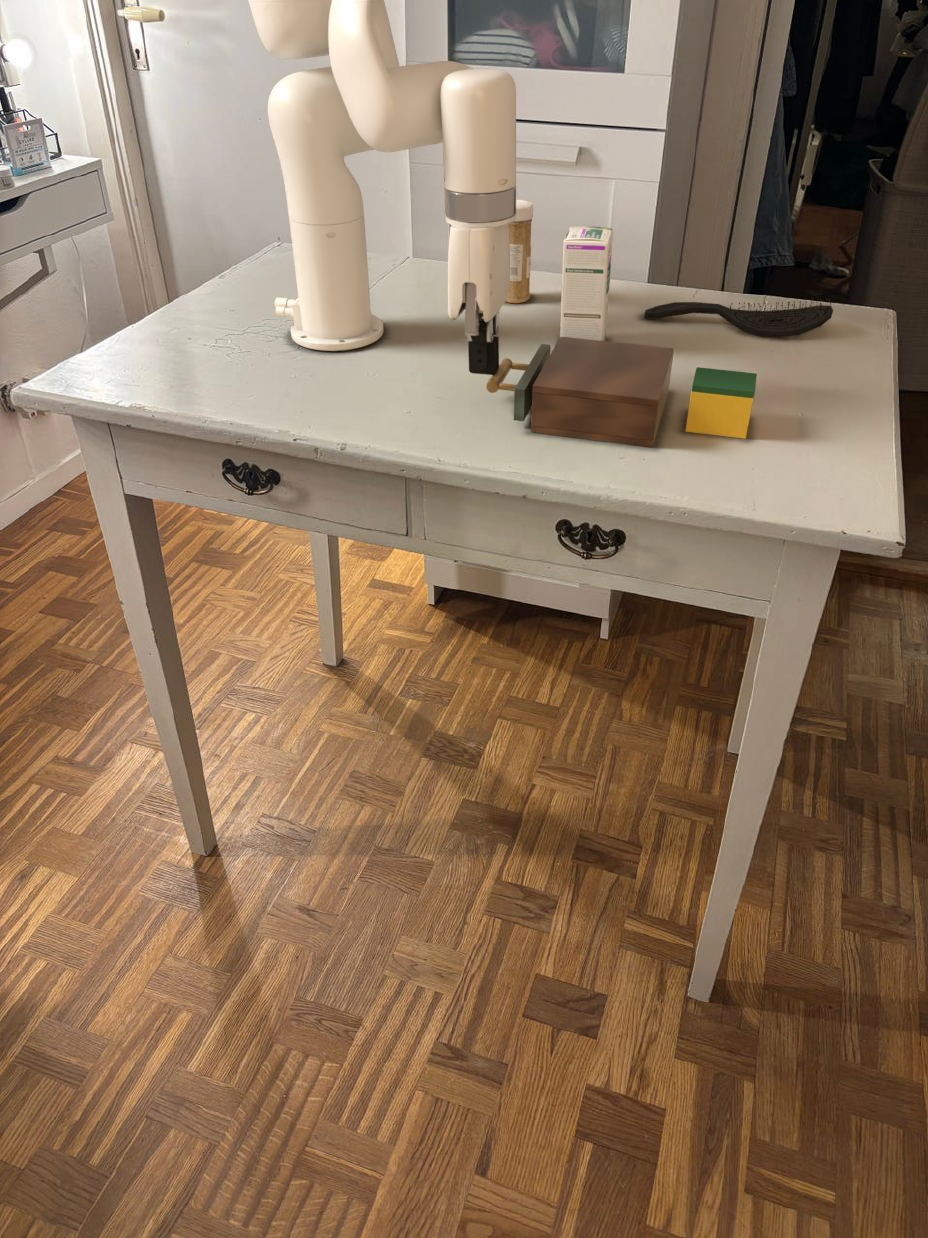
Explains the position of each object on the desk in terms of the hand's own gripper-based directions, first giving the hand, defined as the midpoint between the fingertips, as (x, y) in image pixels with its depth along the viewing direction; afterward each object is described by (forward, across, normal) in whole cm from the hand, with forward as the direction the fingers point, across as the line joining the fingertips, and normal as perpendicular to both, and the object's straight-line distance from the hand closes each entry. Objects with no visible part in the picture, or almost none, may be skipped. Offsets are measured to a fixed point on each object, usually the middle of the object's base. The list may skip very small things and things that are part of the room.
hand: (484, 370), depth 110 cm
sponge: (+4, 0, +27) cm, 28 cm away
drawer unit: (+4, -1, +14) cm, 15 cm away
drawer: (+3, -1, +9) cm, 10 cm away
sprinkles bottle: (+3, -35, -5) cm, 35 cm away
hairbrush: (+4, -32, +27) cm, 43 cm away
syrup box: (+4, -20, +8) cm, 22 cm away
